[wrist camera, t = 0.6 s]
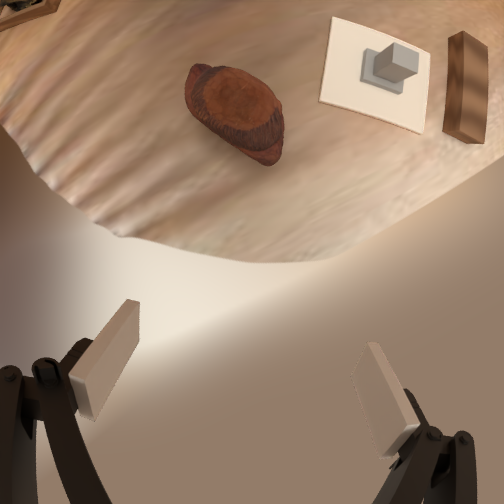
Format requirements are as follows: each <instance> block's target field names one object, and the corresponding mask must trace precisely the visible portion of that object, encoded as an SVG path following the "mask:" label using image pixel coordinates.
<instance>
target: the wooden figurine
mask: <svg viewBox="0 0 504 504" xmlns="http://www.w3.org/2000/svg"><path fill="white" fill-rule="evenodd" d="M185 100H186V104H187V107H188V109H189V111H190V112H191V113H192V115H193V116H194V117H195V118H197V119H198V120H199V121H200V122H201V123H203V124H204V125H205V126H207V127H208V128H209V129H210V130H212V131H213V132H214V133H216V134H217V135H219V136H220V137H221V138H223V139H224V140H225V141H227V142H228V143H230V144H231V145H233V146H235V147H236V148H238V149H239V150H241V151H242V152H244V153H245V154H246V155H248V156H249V157H251V158H253V159H255V160H257V161H258V162H259V163H261V164H262V165H265V166H272V165H274V164H275V163H276V162H277V161H278V160H279V158H280V156H281V154H282V146H283V138H284V136H283V134H284V120H283V115H282V105H281V102H280V101H279V100H278V99H277V98H276V97H275V95H274V93H273V92H272V91H271V89H270V88H269V87H268V86H267V85H266V84H265V83H263V82H262V81H260V80H259V79H257V78H255V77H254V76H252V75H250V74H249V73H247V72H245V71H243V70H240V69H235V68H232V67H226V66H218V67H213V68H212V67H211V66H209V65H206V64H195V65H193V66H192V67H191V69H190V72H189V75H188V77H187V80H186V83H185Z"/></svg>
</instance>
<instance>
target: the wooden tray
mask: <svg viewBox="0 0 504 504" xmlns="http://www.w3.org/2000/svg"><path fill="white" fill-rule="evenodd" d="M60 1H61V0H43V2H41V3H38V4H36V5H33V6H30V7H28V8H25V9H23V10H20V11H18V12H16V13H13V14H11V15H9V16H7V17H4V18H2V19H0V32H1V31H3V30H6V29H8V28H11V27H13V26H16V25H18V24H21V23H24V22H26V21H29V20H32V19H35V18H38V17H41V16H44V15H47V14H50V13H54V12H56V11H57V9H58V6H59V4H60ZM0 2H1V0H0ZM3 7H4V6H3ZM3 7H1V6H0V14H1V12H2V10H3Z"/></svg>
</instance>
